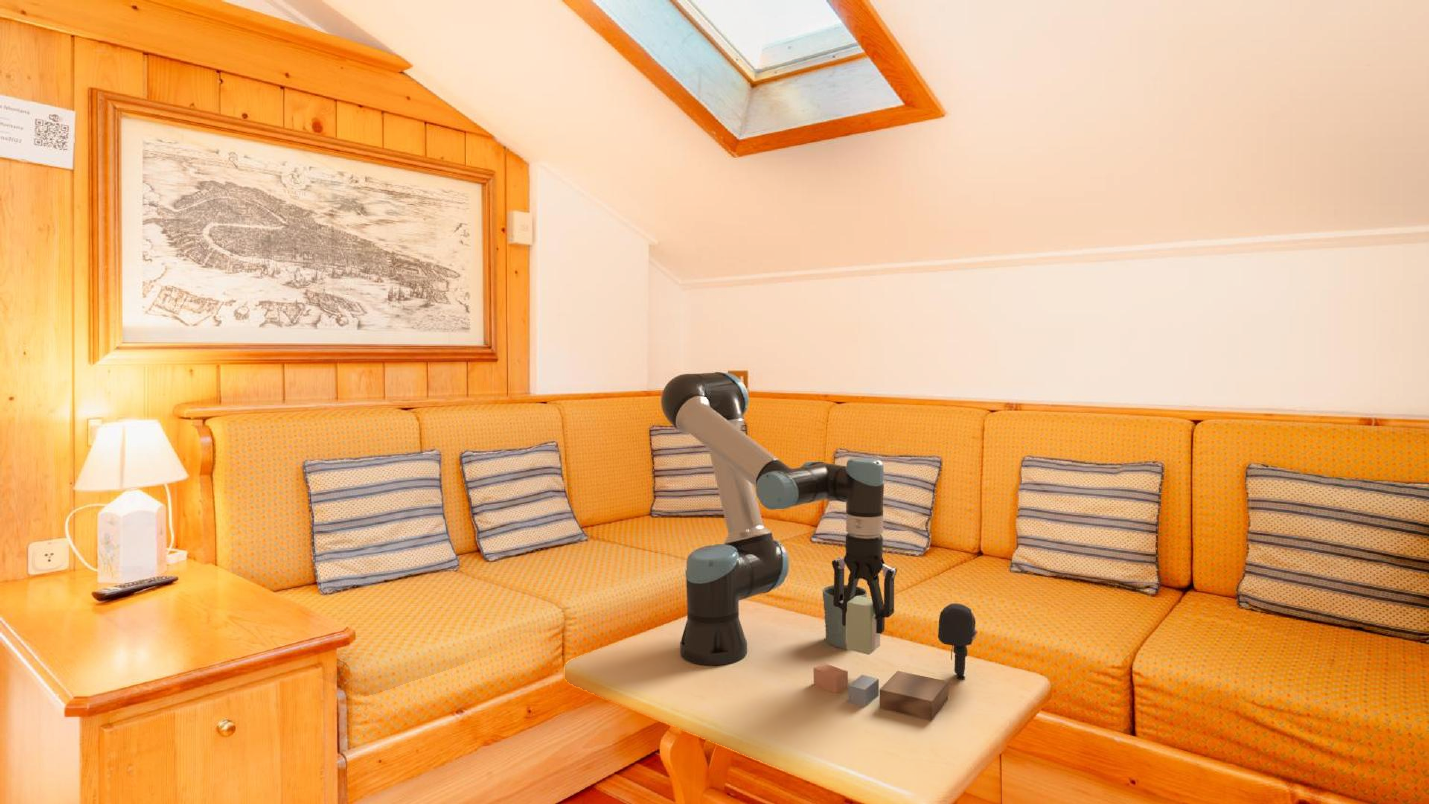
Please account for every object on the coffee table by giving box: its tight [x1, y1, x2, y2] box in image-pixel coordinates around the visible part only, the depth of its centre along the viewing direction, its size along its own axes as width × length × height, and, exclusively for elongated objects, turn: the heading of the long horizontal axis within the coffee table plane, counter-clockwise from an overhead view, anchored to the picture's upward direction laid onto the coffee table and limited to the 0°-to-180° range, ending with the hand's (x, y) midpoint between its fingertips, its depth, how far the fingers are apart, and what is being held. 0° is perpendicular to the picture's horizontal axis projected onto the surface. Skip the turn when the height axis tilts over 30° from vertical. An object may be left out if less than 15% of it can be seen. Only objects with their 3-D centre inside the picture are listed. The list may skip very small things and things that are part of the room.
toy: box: [937, 603, 978, 680], centre depth 160 cm, size 9×8×15 cm
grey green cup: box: [821, 584, 868, 649], centre depth 181 cm, size 10×10×12 cm
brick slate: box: [847, 674, 880, 708], centre depth 151 cm, size 6×4×4 cm, turn 143°
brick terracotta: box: [813, 662, 849, 694], centre depth 157 cm, size 6×4×4 cm, turn 41°
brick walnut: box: [879, 670, 949, 722], centre depth 148 cm, size 10×10×4 cm
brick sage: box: [846, 596, 876, 656], centre depth 161 cm, size 5×5×10 cm
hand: (862, 644), depth 162 cm, fingers closed on brick sage, 5 cm apart
